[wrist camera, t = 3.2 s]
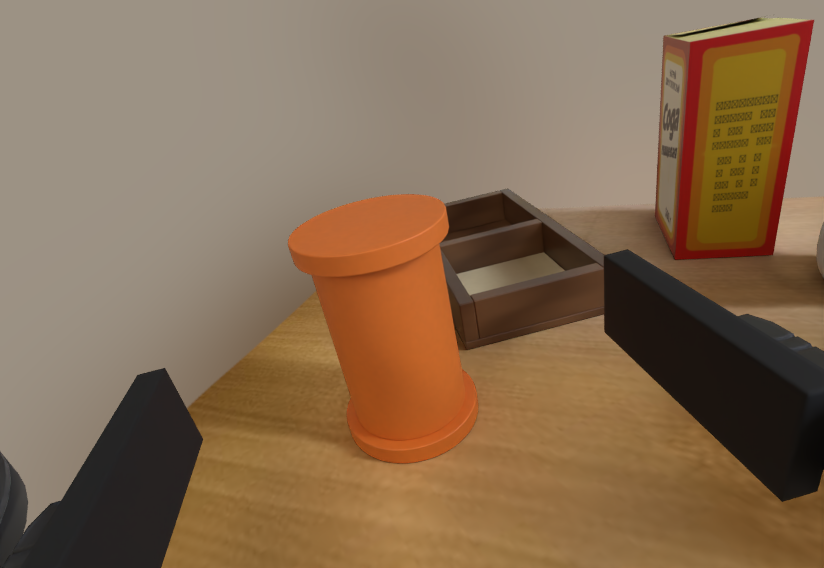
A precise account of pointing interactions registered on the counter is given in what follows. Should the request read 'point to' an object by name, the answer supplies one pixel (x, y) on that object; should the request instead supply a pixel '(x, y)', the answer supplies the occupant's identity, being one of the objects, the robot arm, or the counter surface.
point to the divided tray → (515, 270)
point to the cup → (821, 251)
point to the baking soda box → (728, 134)
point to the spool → (391, 323)
